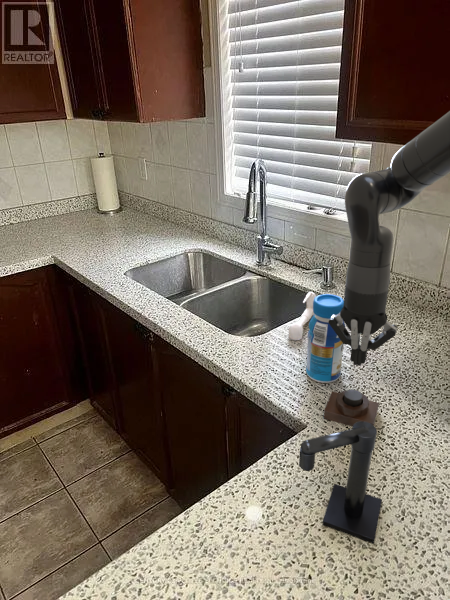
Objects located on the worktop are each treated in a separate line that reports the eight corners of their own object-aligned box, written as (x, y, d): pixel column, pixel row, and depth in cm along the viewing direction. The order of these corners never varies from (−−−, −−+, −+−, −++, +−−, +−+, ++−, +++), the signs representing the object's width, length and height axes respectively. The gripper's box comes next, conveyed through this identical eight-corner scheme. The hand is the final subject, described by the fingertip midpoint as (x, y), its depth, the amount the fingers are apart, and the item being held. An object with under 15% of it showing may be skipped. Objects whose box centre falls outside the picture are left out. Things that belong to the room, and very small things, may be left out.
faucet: (287, 349, 126) (284, 326, 119) (307, 306, 137) (305, 282, 130) (301, 352, 124) (299, 329, 118) (320, 309, 135) (319, 285, 128)
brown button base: (377, 410, 96) (380, 396, 94) (372, 432, 90) (374, 416, 88) (331, 399, 99) (332, 384, 98) (323, 418, 94) (324, 403, 92)
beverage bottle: (299, 367, 111) (303, 294, 102) (331, 361, 112) (337, 289, 103) (314, 387, 103) (319, 311, 94) (347, 380, 105) (355, 305, 96)
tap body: (381, 503, 75) (393, 436, 68) (373, 544, 69) (386, 474, 62) (333, 487, 78) (341, 421, 72) (322, 525, 72) (329, 456, 65)
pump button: (362, 398, 94) (363, 391, 93) (359, 408, 91) (360, 402, 90) (345, 394, 95) (346, 387, 94) (342, 404, 92) (342, 397, 92)
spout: (365, 440, 69) (368, 418, 67) (377, 456, 66) (381, 433, 64) (294, 458, 66) (296, 435, 64) (304, 475, 63) (306, 452, 61)
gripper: (325, 286, 81) (320, 366, 88) (403, 298, 75) (390, 381, 83) (335, 271, 87) (329, 347, 94) (407, 281, 81) (395, 360, 89)
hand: (357, 363), depth 89 cm, fingers closed
